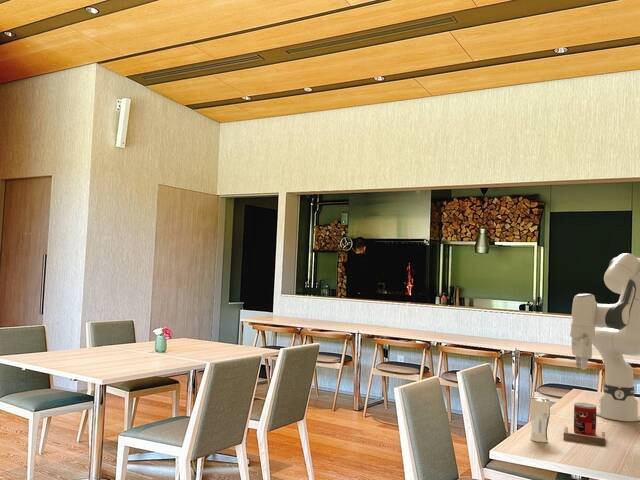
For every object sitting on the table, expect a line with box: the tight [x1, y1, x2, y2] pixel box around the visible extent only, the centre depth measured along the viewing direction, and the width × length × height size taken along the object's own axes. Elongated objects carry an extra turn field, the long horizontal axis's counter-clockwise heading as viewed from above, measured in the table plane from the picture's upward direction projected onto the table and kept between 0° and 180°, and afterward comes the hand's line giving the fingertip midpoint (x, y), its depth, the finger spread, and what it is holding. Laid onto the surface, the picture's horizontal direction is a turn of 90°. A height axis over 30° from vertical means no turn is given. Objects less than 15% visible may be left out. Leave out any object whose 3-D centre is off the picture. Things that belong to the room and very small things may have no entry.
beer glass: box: [529, 396, 551, 444], centre depth 220 cm, size 7×7×15 cm
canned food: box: [573, 402, 597, 436], centre depth 234 cm, size 8×8×11 cm
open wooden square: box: [563, 426, 606, 447], centre depth 225 cm, size 10×14×2 cm
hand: (581, 368), depth 239 cm, fingers open, 8 cm apart
